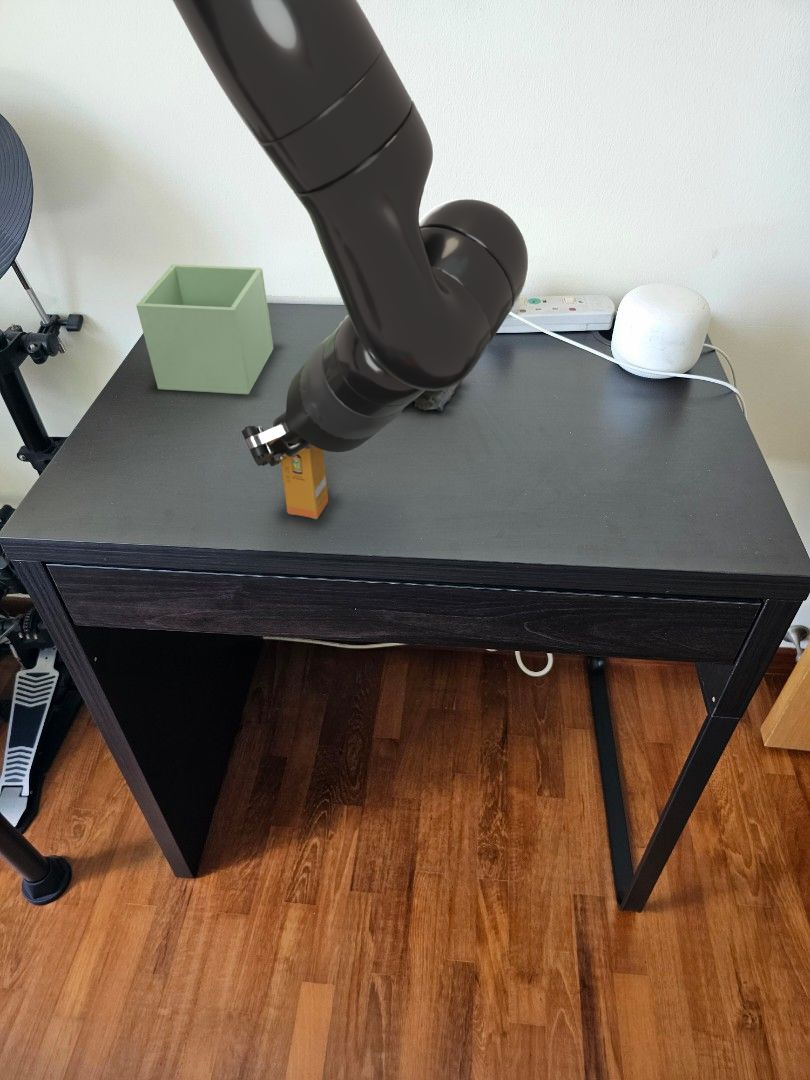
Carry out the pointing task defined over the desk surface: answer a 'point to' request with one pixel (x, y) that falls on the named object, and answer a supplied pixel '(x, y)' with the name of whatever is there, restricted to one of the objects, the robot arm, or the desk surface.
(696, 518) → the desk surface
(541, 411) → the desk surface
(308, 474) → the supplement box
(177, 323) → the trash bin
